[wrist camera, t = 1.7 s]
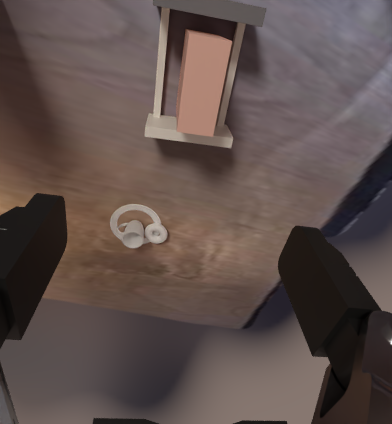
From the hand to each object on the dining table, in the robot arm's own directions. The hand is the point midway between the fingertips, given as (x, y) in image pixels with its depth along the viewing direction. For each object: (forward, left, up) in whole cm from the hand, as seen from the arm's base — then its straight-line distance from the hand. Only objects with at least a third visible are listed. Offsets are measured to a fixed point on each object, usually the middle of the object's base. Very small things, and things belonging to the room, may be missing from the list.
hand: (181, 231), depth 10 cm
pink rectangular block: (-1, +2, -29) cm, 29 cm away
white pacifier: (+25, -3, -29) cm, 38 cm away
